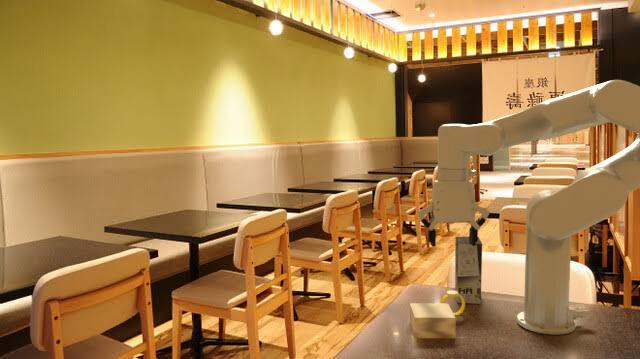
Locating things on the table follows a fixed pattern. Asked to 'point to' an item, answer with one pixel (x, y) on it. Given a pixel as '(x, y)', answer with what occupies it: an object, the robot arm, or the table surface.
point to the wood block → (432, 320)
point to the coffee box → (468, 270)
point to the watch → (454, 294)
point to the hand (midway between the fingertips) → (452, 245)
